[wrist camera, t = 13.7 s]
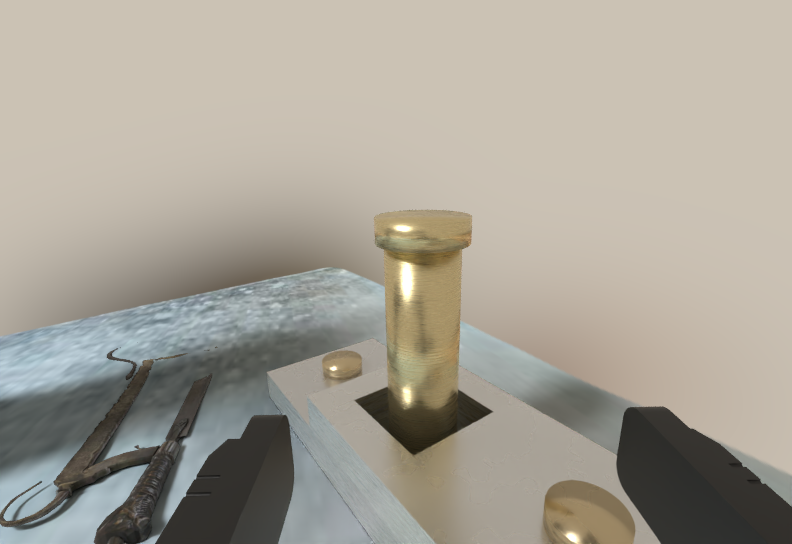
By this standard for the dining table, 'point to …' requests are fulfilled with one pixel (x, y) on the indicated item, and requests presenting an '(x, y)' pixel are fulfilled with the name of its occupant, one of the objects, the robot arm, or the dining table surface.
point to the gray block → (453, 462)
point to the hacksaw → (124, 464)
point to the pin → (422, 321)
